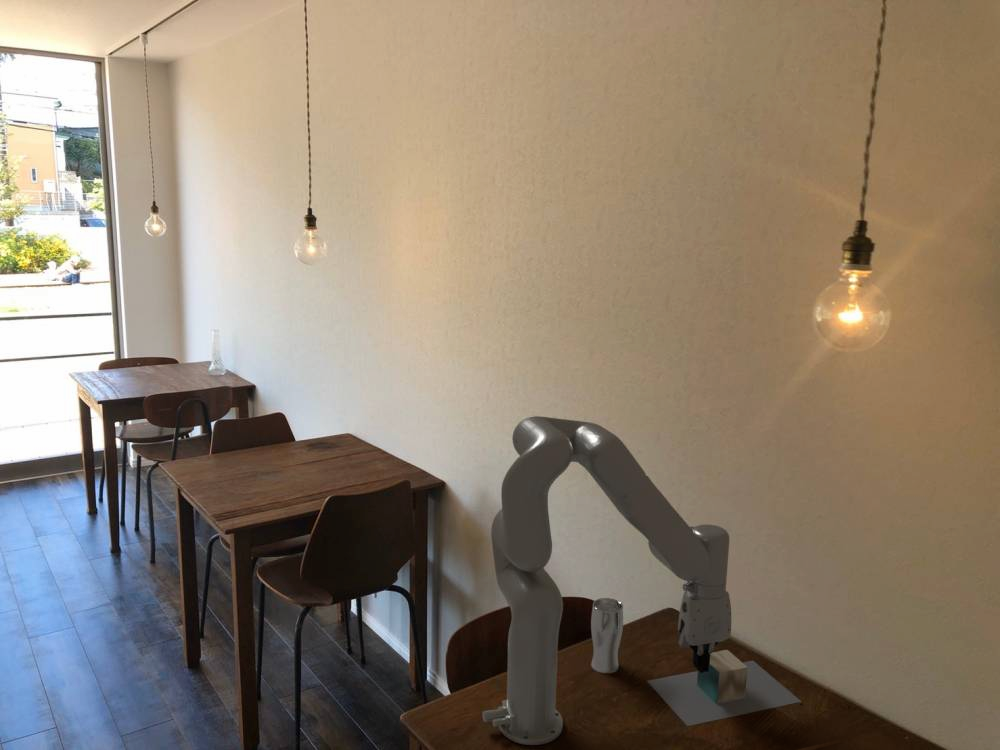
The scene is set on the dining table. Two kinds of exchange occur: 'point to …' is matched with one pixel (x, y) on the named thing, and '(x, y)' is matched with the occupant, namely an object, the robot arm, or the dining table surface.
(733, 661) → the birch cube
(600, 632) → the beer glass
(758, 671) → the rubber mat
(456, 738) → the dining table surface
